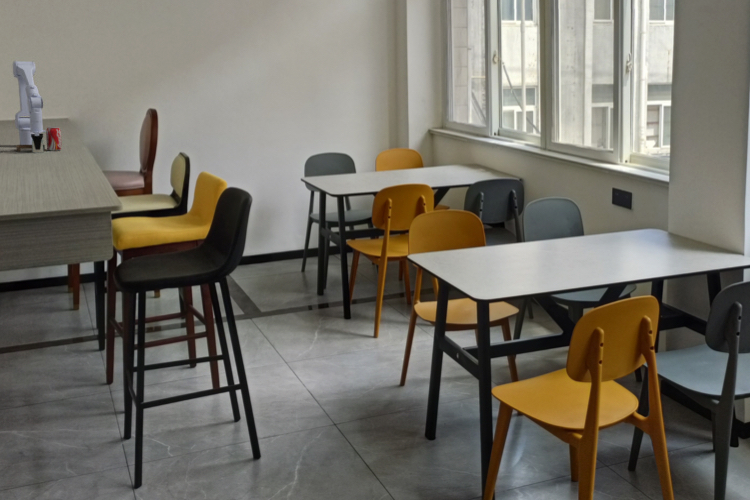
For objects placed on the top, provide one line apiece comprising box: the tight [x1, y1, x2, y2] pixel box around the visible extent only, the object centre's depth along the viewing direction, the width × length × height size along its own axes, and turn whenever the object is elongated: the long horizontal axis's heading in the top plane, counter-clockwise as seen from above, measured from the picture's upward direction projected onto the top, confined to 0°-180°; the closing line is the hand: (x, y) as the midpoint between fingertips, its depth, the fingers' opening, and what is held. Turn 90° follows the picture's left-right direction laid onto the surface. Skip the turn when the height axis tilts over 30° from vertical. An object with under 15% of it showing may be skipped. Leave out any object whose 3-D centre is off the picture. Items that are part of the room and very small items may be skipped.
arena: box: [15, 144, 46, 152], centre depth 389 cm, size 8×13×2 cm, turn 113°
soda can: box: [45, 125, 63, 152], centre depth 392 cm, size 7×7×12 cm
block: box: [31, 139, 45, 154], centre depth 384 cm, size 5×5×6 cm
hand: (37, 148), depth 384 cm, fingers closed on block, 5 cm apart
